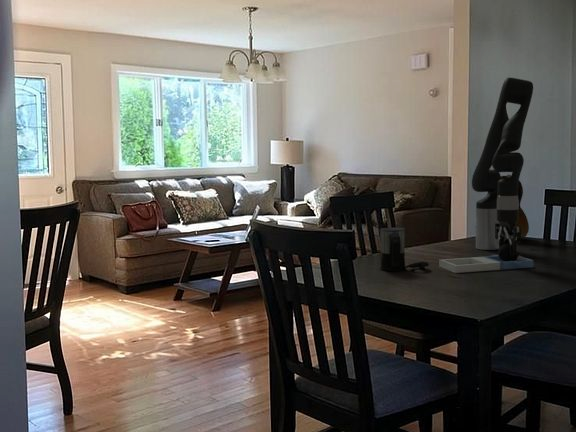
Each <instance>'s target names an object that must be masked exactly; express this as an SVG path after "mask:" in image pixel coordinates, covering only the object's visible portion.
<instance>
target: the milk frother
mask: <svg viewBox="0 0 576 432" xmlns="http://www.w3.org/2000/svg"><path fill="white" fill-rule="evenodd" d="M405 230H406V228H404V227H381V228H379V232H380V236H379V237H380V268H379V269H380V270H382V271H397V272H398V271H405V270H406V269H407V268H410V269H417V268H419V270H423V269H425V267H428V266H429V265H430V262H427V261H418V262H414V263H410V264H408V265H406V260H405Z"/></svg>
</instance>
